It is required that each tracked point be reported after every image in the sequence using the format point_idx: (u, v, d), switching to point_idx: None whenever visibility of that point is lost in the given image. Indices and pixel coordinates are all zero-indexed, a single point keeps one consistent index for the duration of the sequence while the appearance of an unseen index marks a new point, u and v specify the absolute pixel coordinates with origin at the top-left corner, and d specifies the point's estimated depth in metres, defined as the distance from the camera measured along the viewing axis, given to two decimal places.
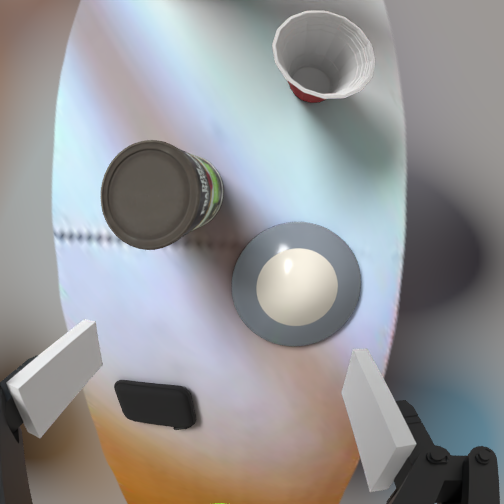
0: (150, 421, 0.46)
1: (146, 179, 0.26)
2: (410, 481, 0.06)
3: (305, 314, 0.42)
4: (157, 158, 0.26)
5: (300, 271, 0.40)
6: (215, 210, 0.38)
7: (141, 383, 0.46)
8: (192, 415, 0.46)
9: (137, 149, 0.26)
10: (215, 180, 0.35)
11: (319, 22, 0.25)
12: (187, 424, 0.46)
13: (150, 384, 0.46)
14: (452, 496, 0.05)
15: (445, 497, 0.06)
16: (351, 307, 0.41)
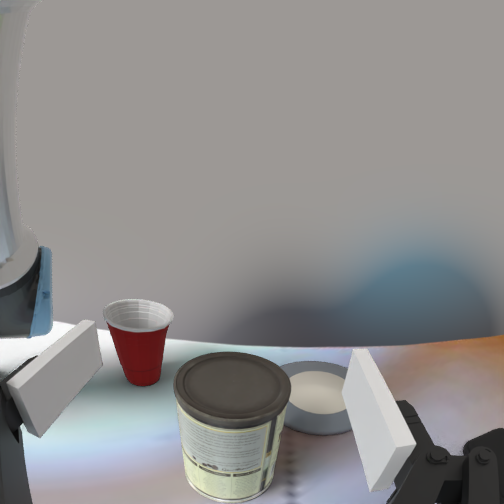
0: None
1: (216, 381, 0.25)
2: (410, 481, 0.06)
3: (340, 385, 0.44)
4: (197, 372, 0.26)
5: (304, 389, 0.43)
6: None
7: None
8: (488, 432, 0.27)
9: (181, 383, 0.24)
10: None
11: (111, 317, 0.42)
12: (500, 428, 0.25)
13: None
14: (453, 496, 0.05)
15: (445, 497, 0.06)
16: (326, 364, 0.50)
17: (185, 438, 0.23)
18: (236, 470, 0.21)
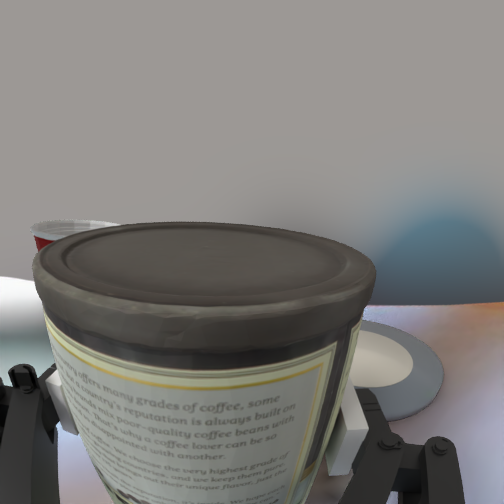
0: None
1: (159, 245, 0.09)
2: (363, 468, 0.06)
3: (388, 347, 0.28)
4: (119, 236, 0.10)
5: None
6: None
7: None
8: None
9: (67, 244, 0.08)
10: None
11: None
12: None
13: None
14: (410, 486, 0.07)
15: (402, 485, 0.07)
16: None
17: None
18: None
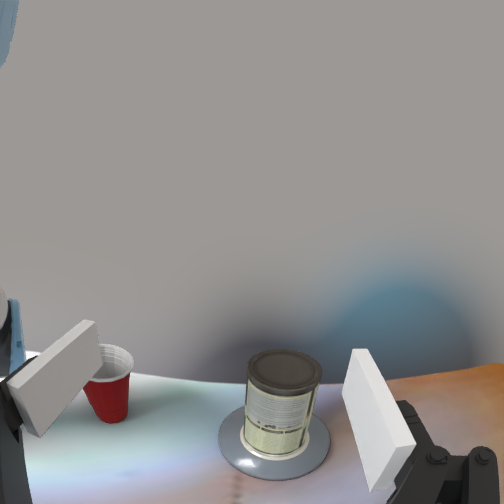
0: None
1: (274, 368, 0.39)
2: (410, 481, 0.06)
3: None
4: (260, 363, 0.40)
5: None
6: None
7: None
8: None
9: (252, 371, 0.38)
10: None
11: None
12: None
13: None
14: (452, 496, 0.05)
15: (445, 497, 0.06)
16: None
17: (253, 408, 0.37)
18: (287, 428, 0.36)
